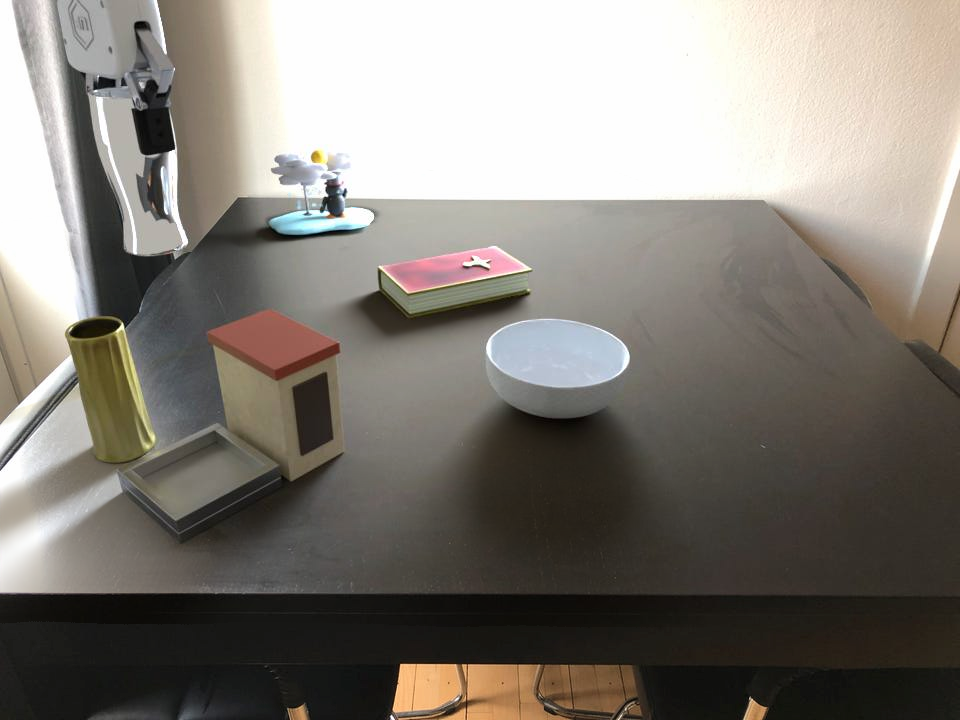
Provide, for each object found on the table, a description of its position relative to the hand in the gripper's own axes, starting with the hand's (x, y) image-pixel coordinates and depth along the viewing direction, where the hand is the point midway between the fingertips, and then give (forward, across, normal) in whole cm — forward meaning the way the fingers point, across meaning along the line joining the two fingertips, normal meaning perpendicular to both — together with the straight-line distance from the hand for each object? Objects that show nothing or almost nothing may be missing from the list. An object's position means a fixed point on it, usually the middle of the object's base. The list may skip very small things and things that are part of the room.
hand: (136, 144), depth 71 cm
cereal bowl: (+30, +30, +30) cm, 52 cm away
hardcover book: (+30, -1, +47) cm, 56 cm away
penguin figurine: (+30, -39, +53) cm, 72 cm away
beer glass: (+10, 0, 0) cm, 10 cm away
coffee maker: (+30, +13, -2) cm, 33 cm away
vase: (+31, +1, -8) cm, 32 cm away
